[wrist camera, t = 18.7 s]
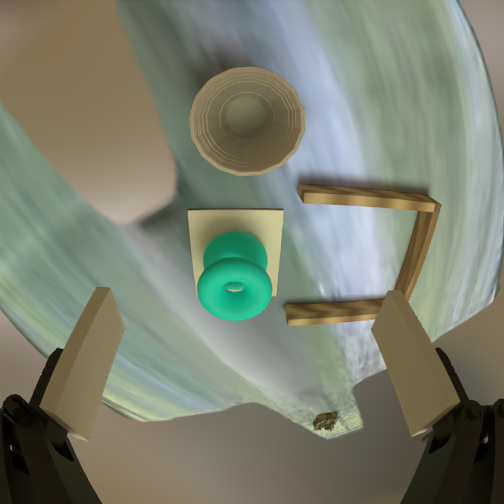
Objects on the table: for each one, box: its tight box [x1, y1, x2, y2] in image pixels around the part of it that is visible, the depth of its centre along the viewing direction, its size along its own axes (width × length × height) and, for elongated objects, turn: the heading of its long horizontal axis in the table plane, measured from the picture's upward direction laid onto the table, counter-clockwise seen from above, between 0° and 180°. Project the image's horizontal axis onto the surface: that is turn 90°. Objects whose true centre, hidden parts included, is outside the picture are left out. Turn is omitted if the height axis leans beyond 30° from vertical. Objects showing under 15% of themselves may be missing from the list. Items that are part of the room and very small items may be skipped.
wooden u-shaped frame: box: [285, 184, 441, 326], centre depth 43 cm, size 24×24×4 cm
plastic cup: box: [189, 67, 305, 176], centre depth 27 cm, size 11×11×12 cm
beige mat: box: [188, 209, 283, 296], centre depth 43 cm, size 14×16×1 cm
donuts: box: [197, 232, 273, 321], centre depth 39 cm, size 10×10×10 cm
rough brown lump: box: [313, 412, 339, 431], centre depth 77 cm, size 11×8×4 cm
